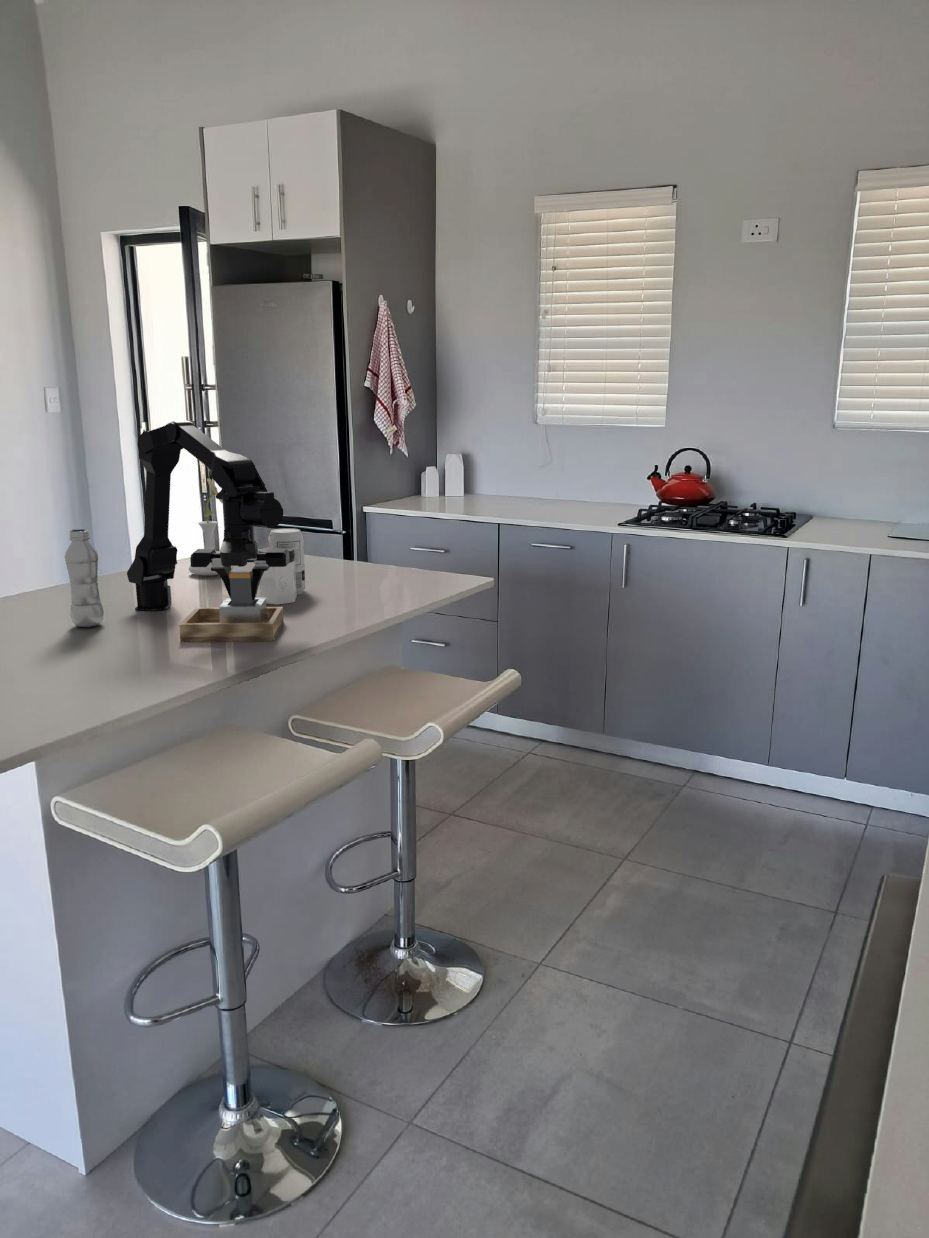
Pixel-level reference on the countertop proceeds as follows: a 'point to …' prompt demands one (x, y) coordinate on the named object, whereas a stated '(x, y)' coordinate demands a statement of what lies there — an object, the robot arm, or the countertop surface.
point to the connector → (241, 587)
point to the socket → (243, 612)
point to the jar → (279, 581)
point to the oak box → (228, 627)
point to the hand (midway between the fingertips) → (242, 599)
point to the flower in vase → (208, 536)
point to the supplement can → (295, 541)
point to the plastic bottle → (83, 580)
